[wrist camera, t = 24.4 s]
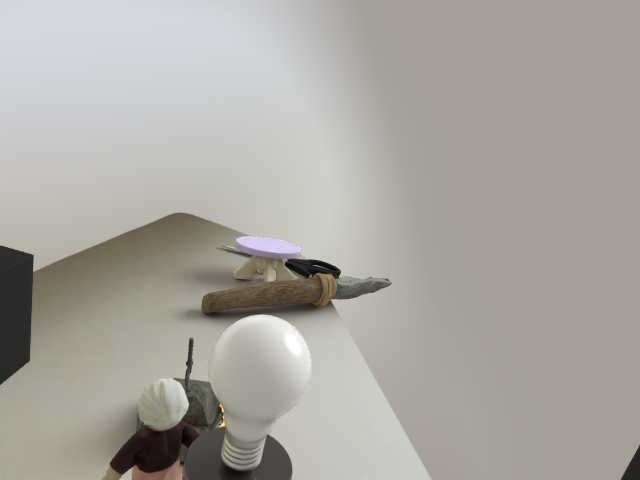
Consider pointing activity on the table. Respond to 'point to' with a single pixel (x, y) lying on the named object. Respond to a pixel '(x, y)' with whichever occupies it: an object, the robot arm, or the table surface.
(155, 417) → the grandmother figurine
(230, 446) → the lightbulb
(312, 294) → the stone tool
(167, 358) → the table surface
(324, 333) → the table surface
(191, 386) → the sword in stone
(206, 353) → the table surface
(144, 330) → the table surface
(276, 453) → the jar
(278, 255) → the toy table
